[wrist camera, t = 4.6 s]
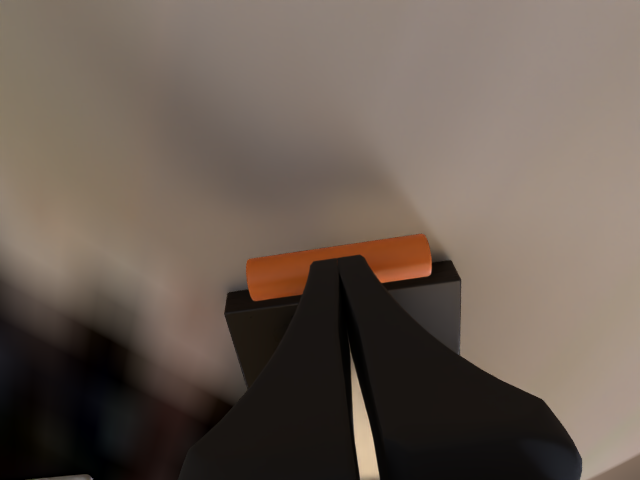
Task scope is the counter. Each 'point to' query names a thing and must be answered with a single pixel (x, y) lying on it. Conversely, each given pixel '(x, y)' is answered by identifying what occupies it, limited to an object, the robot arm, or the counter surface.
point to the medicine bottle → (67, 477)
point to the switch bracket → (276, 314)
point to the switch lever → (290, 279)
